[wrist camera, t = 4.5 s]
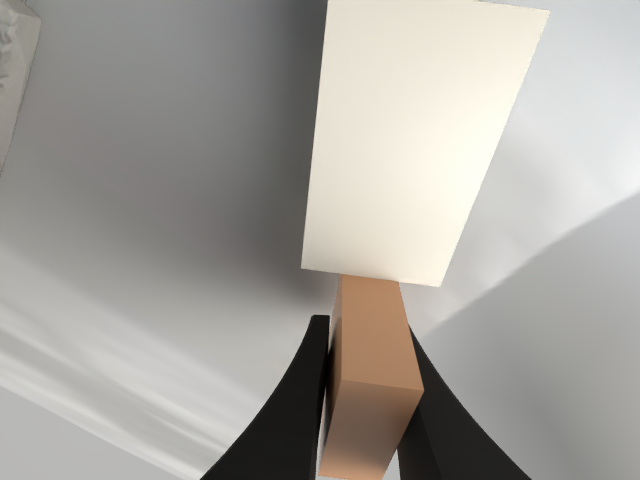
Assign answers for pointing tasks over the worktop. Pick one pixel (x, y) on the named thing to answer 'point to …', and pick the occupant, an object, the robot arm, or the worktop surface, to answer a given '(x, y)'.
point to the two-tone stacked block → (398, 190)
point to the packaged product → (14, 63)
